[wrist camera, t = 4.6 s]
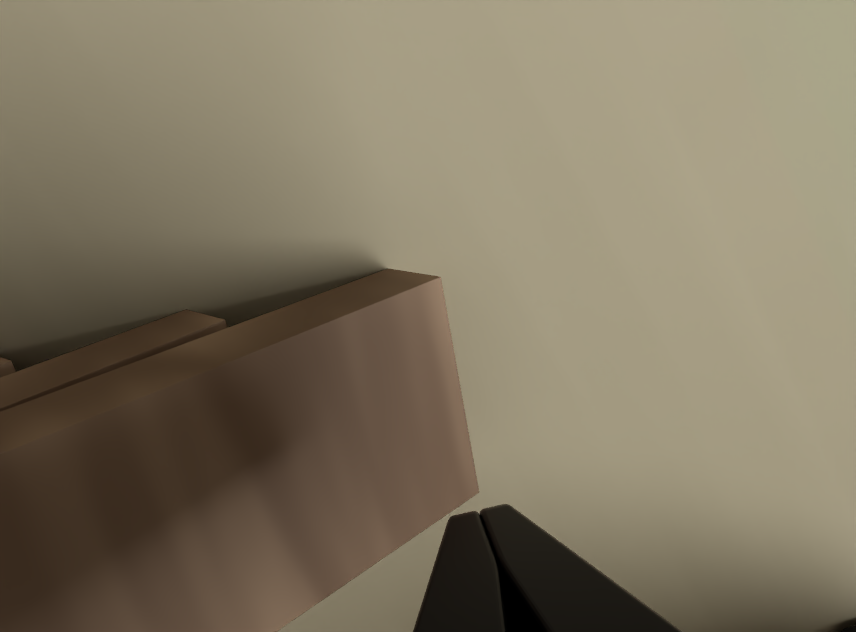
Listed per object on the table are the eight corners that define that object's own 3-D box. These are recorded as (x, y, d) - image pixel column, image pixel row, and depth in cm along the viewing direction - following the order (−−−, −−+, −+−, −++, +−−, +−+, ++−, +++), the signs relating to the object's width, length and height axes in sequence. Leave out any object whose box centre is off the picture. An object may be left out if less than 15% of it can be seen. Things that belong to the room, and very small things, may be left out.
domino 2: (440, 276, 12) (-146, 512, 7) (479, 492, 14) (22, 805, 9) (387, 268, 14) (-135, 461, 9) (428, 465, 15) (8, 723, 10)
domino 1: (225, 319, 12) (-566, 631, 6) (290, 532, 14) (-297, 928, 8) (186, 309, 13) (-501, 561, 8) (250, 504, 15) (-281, 830, 9)
